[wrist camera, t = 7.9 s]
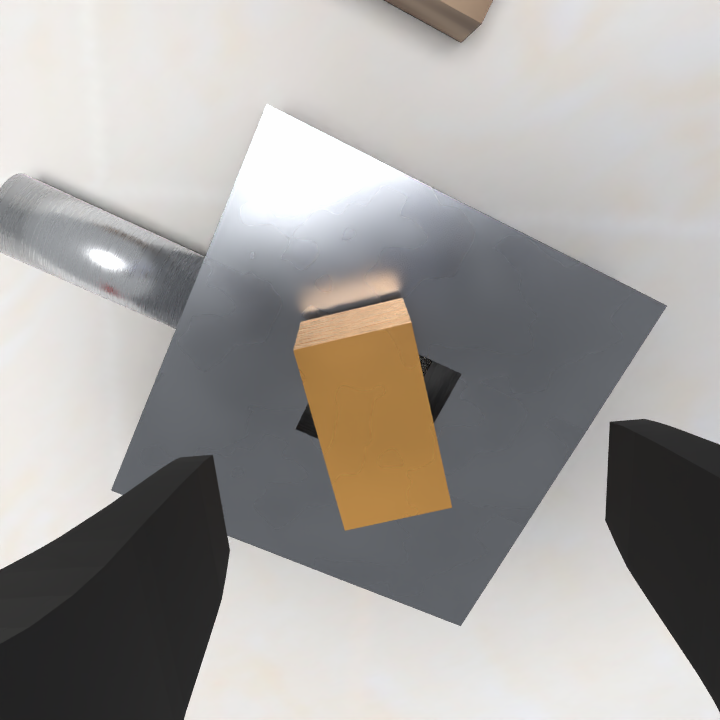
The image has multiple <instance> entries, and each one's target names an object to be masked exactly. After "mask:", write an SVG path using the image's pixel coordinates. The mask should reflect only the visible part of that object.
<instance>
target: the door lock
mask: <svg viewBox="0 0 720 720" xmlns="http://www.w3.org/2000/svg"><path fill="white" fill-rule="evenodd" d="M0 252H1V253H3V254H5V255H7V256H10V257H12V258H14V259H17V260H19V261H21V262H23V263H26V264H28V265H30V266H33V267H35V268H37V269H40V270H42V271H44V272H46V273H49V274H51V275H53V276H56V277H58V278H60V279H62V280H65V281H67V282H69V283H72V284H74V285H76V286H79V287H81V288H83V289H85V290H88V291H90V292H92V293H95V294H97V295H99V296H102V297H104V298H106V299H108V300H111V301H113V302H115V303H118V304H120V305H122V306H124V307H127V308H129V309H131V310H134V311H136V312H138V313H141V314H143V315H145V316H147V317H150V318H152V319H154V320H157V321H159V322H161V323H163V324H166V325H168V326H170V327H173V328H175V329H176V331H175V333H174V336H173V338H172V341H171V343H170V346H169V348H168V351H167V353H166V355H165V358H164V360H163V363H162V365H161V368H160V370H159V373H158V375H157V378H156V380H155V383H154V385H153V388H152V390H151V393H150V395H149V398H148V400H147V403H146V405H145V408H144V410H143V413H142V415H141V418H140V420H139V423H138V425H137V428H136V430H135V432H134V435H133V437H132V440H131V442H130V445H129V447H128V450H127V452H126V455H125V457H124V460H123V462H122V465H121V467H120V470H119V472H118V475H117V477H116V480H115V482H114V485H113V487H112V491H114V492H117V493H119V494H122V495H124V494H125V493H127V492H128V491H130V490H131V489H132V488H134V487H135V486H137V485H138V484H140V483H141V482H142V481H144V480H145V479H147V478H148V477H149V476H151V475H152V474H154V473H155V472H157V471H158V470H160V469H161V468H162V467H164V466H166V465H167V464H169V463H170V462H172V461H174V460H176V459H178V458H180V457H191V456H203V455H213V458H214V464H215V469H216V475H217V481H218V486H219V492H220V498H221V503H222V509H223V515H224V520H225V526H226V532H227V536H230V537H233V538H235V539H238V540H240V541H243V542H245V543H248V544H251V545H253V546H256V547H258V548H261V549H263V550H266V551H269V552H271V553H274V554H276V555H279V556H282V557H284V558H287V559H289V560H292V561H294V562H297V563H300V564H302V565H305V566H307V567H310V568H312V569H315V570H318V571H320V572H323V573H325V574H328V575H330V576H333V577H336V578H338V579H341V580H343V581H346V582H348V583H351V584H354V585H356V586H359V587H361V588H364V589H367V590H369V591H372V592H374V593H377V594H379V595H382V596H385V597H387V598H390V599H392V600H395V601H397V602H400V603H403V604H405V605H408V606H410V607H413V608H415V609H418V610H421V611H423V612H426V613H428V614H431V615H433V616H436V617H439V618H441V619H444V620H446V621H449V622H451V623H454V624H457V625H459V626H461V625H462V623H463V622H464V620H465V619H466V617H467V615H468V614H469V612H470V611H471V609H472V608H473V606H474V605H475V603H476V601H477V600H478V598H479V597H480V595H481V594H482V592H483V591H484V589H485V587H486V586H487V584H488V583H489V581H490V580H491V578H492V577H493V575H494V573H495V572H496V570H497V569H498V567H499V566H500V564H501V563H502V561H503V560H504V558H505V556H506V555H507V553H508V552H509V550H510V549H511V547H512V546H513V544H514V542H515V541H516V539H517V538H518V536H519V535H520V533H521V532H522V530H523V528H524V527H525V525H526V524H527V522H528V521H529V519H530V518H531V516H532V515H533V513H534V511H535V510H536V508H537V507H538V505H539V504H540V502H541V501H542V499H543V497H544V496H545V494H546V493H547V491H548V490H549V488H550V487H551V485H552V483H553V482H554V480H555V479H556V477H557V476H558V474H559V473H560V471H561V470H562V468H563V466H564V465H565V463H566V462H567V460H568V459H569V457H570V456H571V454H572V452H573V451H574V449H575V448H576V446H577V445H578V443H579V442H580V440H581V438H582V437H583V435H584V434H585V432H586V431H587V429H588V428H589V426H590V425H591V423H592V421H593V420H594V418H595V417H596V415H597V414H598V412H599V411H600V409H601V407H602V406H603V404H604V403H605V401H606V400H607V398H608V397H609V395H610V393H611V392H612V390H613V389H614V387H615V386H616V384H617V383H618V381H619V380H620V378H621V376H622V375H623V373H624V372H625V370H626V369H627V367H628V366H629V364H630V362H631V361H632V359H633V358H634V356H635V355H636V353H637V352H638V350H639V348H640V347H641V345H642V344H643V342H644V341H645V339H646V338H647V336H648V335H649V333H650V331H651V330H652V328H653V327H654V325H655V324H656V322H657V321H658V319H659V317H660V316H661V314H662V313H663V311H664V310H665V308H666V307H667V306H666V305H664V304H662V303H660V302H658V301H656V300H655V299H653V298H651V297H649V296H647V295H645V294H643V293H641V292H639V291H637V290H635V289H633V288H631V287H629V286H627V285H625V284H623V283H621V282H619V281H617V280H615V279H613V278H611V277H609V276H607V275H605V274H603V273H601V272H599V271H597V270H595V269H593V268H591V267H589V266H587V265H585V264H583V263H581V262H579V261H577V260H575V259H573V258H571V257H569V256H567V255H565V254H563V253H561V252H559V251H557V250H555V249H553V248H551V247H549V246H547V245H545V244H543V243H542V242H540V241H538V240H536V239H534V238H532V237H530V236H528V235H526V234H524V233H522V232H520V231H518V230H516V229H514V228H512V227H510V226H508V225H506V224H504V223H502V222H500V221H498V220H496V219H494V218H492V217H490V216H488V215H486V214H484V213H482V212H480V211H478V210H476V209H474V208H472V207H470V206H468V205H466V204H464V203H462V202H460V201H458V200H456V199H454V198H452V197H450V196H448V195H446V194H444V193H442V192H440V191H438V190H436V189H434V188H432V187H430V186H428V185H427V184H425V183H423V182H421V181H419V180H417V179H415V178H413V177H411V176H409V175H407V174H405V173H403V172H401V171H399V170H397V169H395V168H393V167H391V166H389V165H387V164H385V163H383V162H381V161H379V160H377V159H375V158H373V157H371V156H369V155H367V154H365V153H363V152H361V151H359V150H357V149H355V148H353V147H351V146H349V145H347V144H345V143H343V142H341V141H339V140H337V139H335V138H333V137H331V136H329V135H327V134H325V133H323V132H321V131H319V130H317V129H315V128H313V127H312V126H310V125H308V124H306V123H304V122H302V121H300V120H298V119H296V118H294V117H292V116H290V115H288V114H286V113H284V112H282V111H280V110H278V109H276V108H274V107H272V106H270V105H268V104H267V105H266V107H265V110H264V112H263V115H262V117H261V120H260V122H259V124H258V127H257V129H256V132H255V134H254V137H253V139H252V142H251V144H250V147H249V149H248V152H247V154H246V157H245V159H244V162H243V164H242V167H241V169H240V172H239V174H238V177H237V179H236V182H235V184H234V187H233V189H232V192H231V194H230V197H229V199H228V201H227V204H226V206H225V209H224V211H223V214H222V216H221V219H220V221H219V224H218V226H217V229H216V231H215V234H214V236H213V239H212V241H211V244H210V246H209V249H208V251H207V254H206V256H203V255H200V254H198V253H196V252H194V251H192V250H190V249H187V248H185V247H183V246H181V245H179V244H176V243H174V242H172V241H170V240H168V239H165V238H163V237H161V236H159V235H157V234H155V233H152V232H150V231H148V230H146V229H144V228H141V227H139V226H137V225H135V224H133V223H131V222H128V221H126V220H124V219H122V218H120V217H117V216H115V215H113V214H111V213H109V212H106V211H104V210H102V209H100V208H98V207H96V206H93V205H91V204H89V203H87V202H85V201H82V200H80V199H78V198H76V197H74V196H71V195H69V194H67V193H65V192H63V191H61V190H58V189H56V188H54V187H52V186H50V185H47V184H45V183H43V182H41V181H39V180H37V179H34V178H32V177H30V176H28V175H26V174H23V173H19V174H16V175H14V176H12V177H11V178H9V179H8V180H7V181H6V182H5V183H4V184H3V185H2V187H1V188H0ZM399 298H403V300H404V303H405V306H406V308H407V311H408V314H409V317H410V320H411V322H412V327H413V331H414V336H415V340H416V345H417V350H418V354H419V355H421V356H424V357H426V358H428V359H430V360H432V362H431V364H430V366H429V368H428V370H427V372H426V373H425V375H424V382H425V386H426V391H427V395H428V400H429V404H430V409H431V413H432V418H433V423H434V427H435V432H436V436H437V441H438V445H439V450H440V455H441V459H442V464H443V468H444V473H445V477H446V482H447V486H448V491H449V496H450V500H451V505H452V508H448V509H443V510H439V511H434V512H429V513H425V514H420V515H416V516H411V517H406V518H402V519H397V520H392V521H388V522H383V523H378V524H374V525H369V526H365V527H360V528H355V529H351V530H346V531H345V529H344V526H343V522H342V519H341V515H340V512H339V508H338V505H337V501H336V498H335V494H334V491H333V487H332V484H331V480H330V477H329V473H328V470H327V466H326V463H325V460H324V456H323V453H322V449H321V446H320V442H319V439H318V435H317V432H316V428H315V425H314V421H313V418H312V414H311V411H310V407H309V404H308V400H307V397H306V393H305V390H304V386H303V383H302V379H301V376H300V372H299V369H298V365H297V362H296V358H295V355H294V351H293V349H294V345H295V342H296V338H297V334H298V330H299V327H300V323H301V322H302V321H306V320H310V319H314V318H319V317H323V316H327V315H331V314H336V313H340V312H344V311H348V310H352V309H357V308H361V307H365V306H369V305H374V304H378V303H382V302H386V301H391V300H395V299H399Z"/></svg>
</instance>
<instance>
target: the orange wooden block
mask: <svg viewBox="0 0 720 720" xmlns="http://www.w3.org/2000/svg"><path fill="white" fill-rule="evenodd" d="M293 351H294V355H295V358H296V362H297V365H298V369H299V372H300V376H301V379H302V383H303V386H304V390H305V393H306V397H307V400H308V404H309V407H310V411H311V414H312V418H313V421H314V425H315V428H316V432H317V435H318V439H319V442H320V446H321V449H322V453H323V456H324V460H325V463H326V466H327V470H328V473H329V477H330V480H331V484H332V487H333V491H334V494H335V498H336V501H337V505H338V508H339V512H340V515H341V519H342V522H343V526H344V529H345V531H346V530H351V529H355V528H360V527H365V526H369V525H374V524H378V523H383V522H388V521H392V520H397V519H402V518H406V517H411V516H416V515H420V514H425V513H429V512H434V511H439V510H443V509H448V508H452V505H451V500H450V496H449V491H448V486H447V482H446V477H445V473H444V468H443V464H442V459H441V455H440V450H439V445H438V441H437V436H436V432H435V427H434V423H433V418H432V413H431V409H430V404H429V400H428V395H427V391H426V386H425V382H424V377H423V372H422V368H421V363H420V359H419V354H418V350H417V345H416V340H415V336H414V331H413V327H412V322H411V320H410V317H409V314H408V311H407V308H406V306H405V303H404V300H403V298H399V299H395V300H391V301H386V302H382V303H378V304H374V305H369V306H365V307H361V308H357V309H352V310H348V311H344V312H340V313H336V314H331V315H327V316H323V317H319V318H314V319H310V320H306V321H302V322H301V323H300V327H299V330H298V334H297V338H296V342H295V345H294V349H293Z"/></svg>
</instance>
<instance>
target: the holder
mask: <svg viewBox="0 0 720 720" xmlns="http://www.w3.org/2000/svg"><path fill="white" fill-rule="evenodd" d="M384 1H386V2H388V3H390V4H392V5H393V6H395V7H397V8H399V9H401V10H403V11H404V12H406V13H408V14H410V15H412V16H414V17H415V18H417V19H419V20H421V21H423V22H424V23H426V24H428V25H430V26H432V27H434V28H435V29H437V30H439V31H441V32H443V33H445V34H446V35H448V36H450V37H452V38H454V39H456V40H457V41H459V42H462V41H464V40H465V39H466V38H467V37H468V36H469V35H470V34H471V33H472V32H473V31H474V30H475V29H476V28H478V27H479V26H480V25H481V24H482V22H483V20H484V18H485V16H486V14H487V12H488V9H489V7H490V5H491V3H492V1H493V0H384Z"/></svg>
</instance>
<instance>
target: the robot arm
mask: <svg viewBox="0 0 720 720" xmlns="http://www.w3.org/2000/svg"><path fill="white" fill-rule="evenodd" d="M605 521H606V523H607V525H608V527H609V530H610V532H611V534H612V536H613V539H614V541H615V543H616V545H617V547H618V549H619V552H620V554H621V556H622V558H623V560H624V562H625V564H626V566H627V568H628V569H629V571H630V572H631V574H632V576H633V577H634V579H635V580H636V582H637V583H638V585H639V586H640V588H641V589H642V591H643V592H644V594H645V596H646V597H647V599H648V600H649V602H650V603H651V605H652V606H653V608H654V609H655V611H656V612H657V614H658V615H659V617H660V618H661V620H662V621H663V623H664V624H665V626H666V627H667V629H668V630H669V632H670V633H671V635H672V636H673V638H674V639H675V641H676V642H677V644H678V645H679V647H680V648H681V650H682V651H683V653H684V654H685V656H686V657H687V659H688V660H689V662H690V663H691V665H692V666H693V668H694V669H695V671H696V672H697V674H698V675H699V677H700V679H701V680H702V682H703V684H704V685H705V687H706V689H707V690H708V692H709V694H710V695H711V697H712V699H713V700H714V702H715V704H716V706H717V708H718V710H719V712H720V445H719V444H716V443H714V442H711V441H709V440H706V439H703V438H701V437H698V436H695V435H693V434H690V433H687V432H685V431H682V430H679V429H676V428H674V427H671V426H668V425H665V424H662V423H658V422H655V421H651V420H646V419H639V420H627V421H615V422H610V431H609V452H608V474H607V496H606V517H605ZM229 553H230V549H229V543H228V537H227V532H226V526H225V520H224V515H223V509H222V503H221V498H220V492H219V486H218V481H217V475H216V469H215V464H214V458H213V455H203V456H191V457H180V458H178V459H176V460H174V461H172V462H170V463H169V464H167V465H166V466H164V467H162V468H161V469H160V470H158V471H157V472H155V473H154V474H152V475H151V476H149V477H148V478H147V479H145V480H144V481H142V482H141V483H140V484H138V485H137V486H135V487H134V488H132V489H131V490H130V491H128V492H127V493H125V494H124V495H123V496H121V497H120V498H118V499H117V500H115V501H114V502H113V503H111V504H110V505H108V506H107V507H105V508H104V509H102V510H101V511H99V512H98V513H96V514H95V515H93V516H92V517H90V518H88V519H87V520H85V521H84V522H82V523H81V524H79V525H78V526H76V527H75V528H73V529H71V530H70V531H68V532H67V533H65V534H64V535H62V536H61V537H59V538H57V539H56V540H54V541H52V542H50V543H49V544H47V545H45V546H44V547H42V548H40V549H38V550H36V551H35V552H33V553H31V554H29V555H27V556H25V557H24V558H22V559H20V560H18V561H16V562H14V563H12V564H10V565H8V566H7V567H5V568H3V569H1V570H0V720H184V717H185V713H186V710H187V707H188V704H189V701H190V698H191V694H192V691H193V688H194V685H195V682H196V679H197V676H198V673H199V670H200V666H201V663H202V660H203V657H204V654H205V651H206V648H207V645H208V642H209V639H210V635H211V632H212V629H213V626H214V623H215V619H216V616H217V613H218V610H219V606H220V603H221V600H222V595H223V589H224V584H225V578H226V572H227V566H228V559H229Z"/></svg>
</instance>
